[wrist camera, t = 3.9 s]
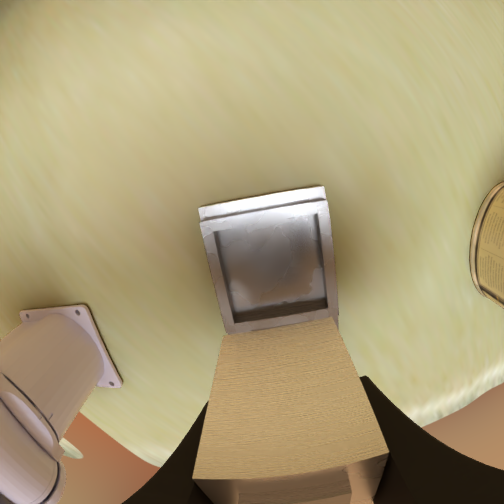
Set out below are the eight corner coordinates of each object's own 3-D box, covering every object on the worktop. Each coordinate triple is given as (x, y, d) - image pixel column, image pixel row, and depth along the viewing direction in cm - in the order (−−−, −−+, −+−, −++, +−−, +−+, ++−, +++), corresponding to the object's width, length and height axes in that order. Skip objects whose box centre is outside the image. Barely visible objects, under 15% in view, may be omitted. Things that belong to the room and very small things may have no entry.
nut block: (246, 407, 11) (237, 537, 5) (223, 335, 10) (189, 492, 4) (336, 392, 11) (370, 519, 5) (332, 316, 10) (394, 466, 4)
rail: (259, 432, 22) (259, 449, 20) (201, 206, 16) (193, 210, 14) (337, 421, 21) (340, 437, 19) (320, 185, 16) (328, 187, 14)
